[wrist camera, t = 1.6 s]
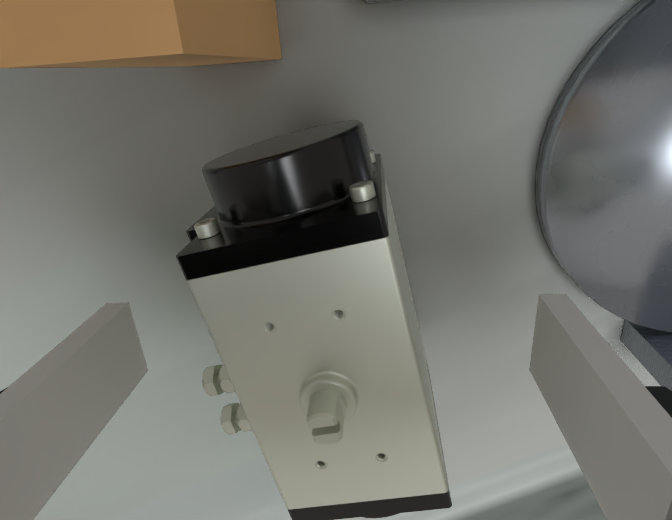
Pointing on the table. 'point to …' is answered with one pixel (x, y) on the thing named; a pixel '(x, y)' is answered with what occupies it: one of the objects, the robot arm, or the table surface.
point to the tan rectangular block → (136, 33)
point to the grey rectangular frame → (375, 0)
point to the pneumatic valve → (317, 325)
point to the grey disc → (617, 180)
